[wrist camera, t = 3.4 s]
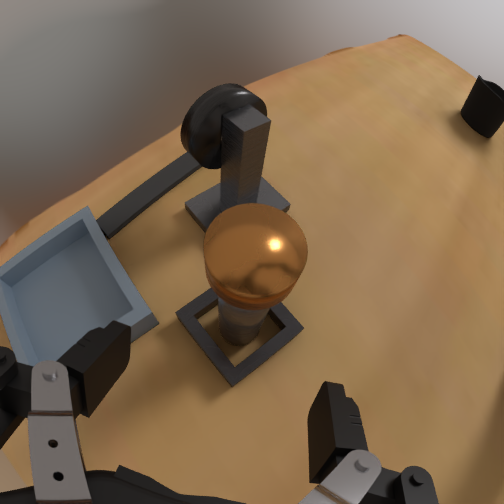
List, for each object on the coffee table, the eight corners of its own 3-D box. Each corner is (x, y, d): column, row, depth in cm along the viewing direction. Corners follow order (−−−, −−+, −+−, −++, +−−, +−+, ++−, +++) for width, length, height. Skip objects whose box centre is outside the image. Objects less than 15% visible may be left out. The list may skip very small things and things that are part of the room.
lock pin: (242, 290, 26) (262, 188, 15) (277, 330, 25) (327, 254, 13) (200, 321, 24) (183, 235, 13) (234, 364, 23) (249, 316, 12)
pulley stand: (244, 168, 33) (256, 70, 22) (288, 210, 30) (319, 111, 20) (180, 203, 30) (167, 100, 19) (222, 253, 27) (226, 152, 17)
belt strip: (197, 148, 34) (197, 144, 33) (212, 158, 33) (212, 154, 32) (96, 224, 28) (94, 221, 27) (109, 239, 27) (107, 235, 27)
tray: (97, 223, 28) (87, 205, 25) (159, 323, 24) (151, 312, 21) (6, 288, 23) (-11, 275, 21) (50, 397, 19) (32, 394, 17)
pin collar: (245, 270, 27) (246, 263, 26) (299, 332, 25) (304, 328, 23) (177, 317, 24) (175, 312, 23) (232, 387, 22) (232, 386, 21)
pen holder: (492, 146, 44) (516, 111, 36) (456, 117, 47) (478, 80, 38) (493, 129, 48) (513, 98, 40) (460, 104, 51) (479, 70, 42)
